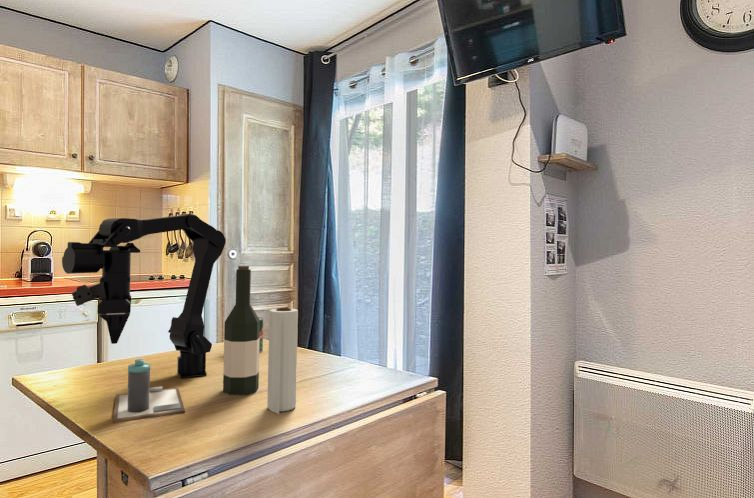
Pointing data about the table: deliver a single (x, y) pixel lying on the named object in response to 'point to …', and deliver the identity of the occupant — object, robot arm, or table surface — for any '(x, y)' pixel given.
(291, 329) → the paper towel roll
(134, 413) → the clipboard
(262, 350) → the canned tomato
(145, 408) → the water bottle
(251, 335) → the wine bottle
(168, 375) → the table surface
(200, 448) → the table surface
